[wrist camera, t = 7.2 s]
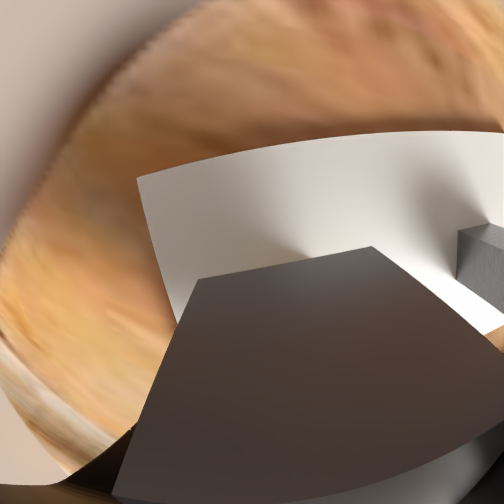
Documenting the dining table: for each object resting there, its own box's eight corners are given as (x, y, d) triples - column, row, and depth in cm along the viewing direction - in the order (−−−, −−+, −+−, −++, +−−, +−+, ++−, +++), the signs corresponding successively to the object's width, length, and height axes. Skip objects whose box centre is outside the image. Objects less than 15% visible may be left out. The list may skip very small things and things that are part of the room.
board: (212, 392, 15) (210, 406, 14) (146, 176, 12) (136, 177, 10) (499, 313, 14) (509, 321, 13) (506, 134, 11) (519, 134, 9)
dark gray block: (237, 403, 10) (229, 566, 3) (197, 279, 8) (111, 494, 2) (372, 376, 9) (437, 521, 3) (371, 245, 8) (540, 391, 2)
